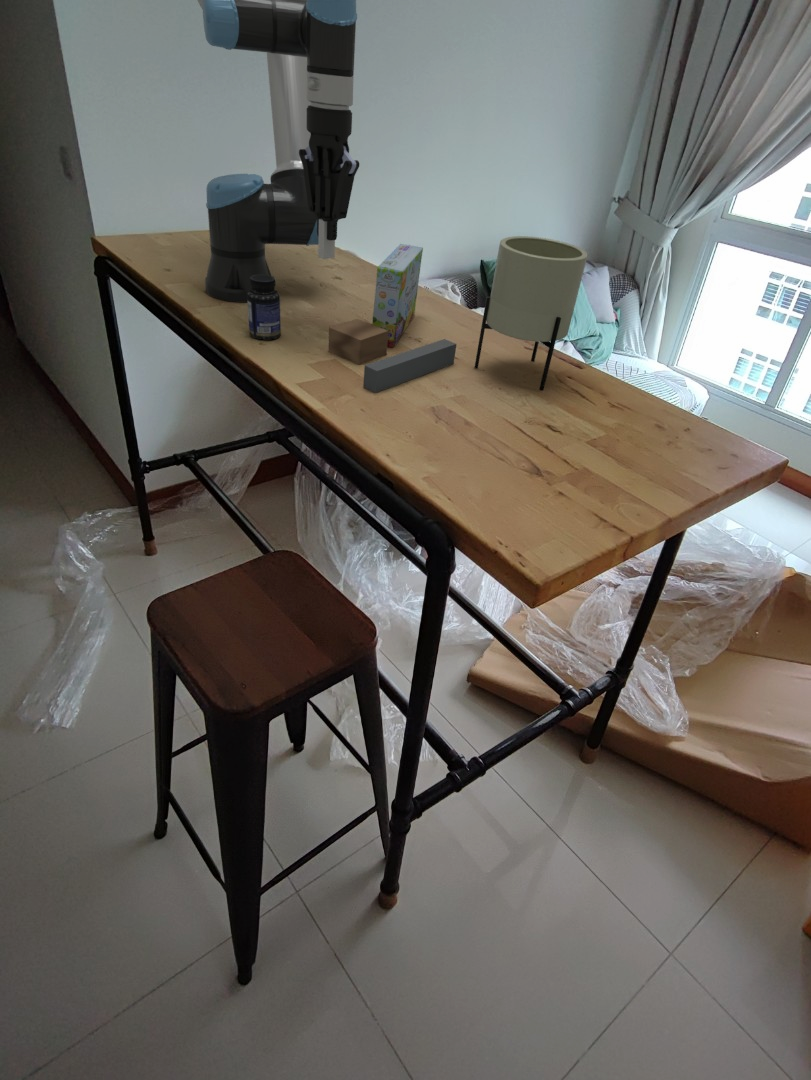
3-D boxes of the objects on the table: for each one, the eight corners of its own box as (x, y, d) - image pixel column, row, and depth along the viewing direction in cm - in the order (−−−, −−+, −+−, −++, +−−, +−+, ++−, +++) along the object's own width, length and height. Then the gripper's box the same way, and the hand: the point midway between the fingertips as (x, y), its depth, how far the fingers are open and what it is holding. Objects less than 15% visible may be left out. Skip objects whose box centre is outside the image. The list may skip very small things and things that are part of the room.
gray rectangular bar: (363, 386, 113) (364, 365, 111) (441, 358, 127) (444, 338, 125) (375, 392, 112) (377, 371, 109) (453, 363, 126) (456, 343, 123)
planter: (508, 395, 117) (537, 262, 103) (463, 361, 127) (483, 236, 113) (573, 386, 123) (609, 259, 109) (525, 354, 134) (551, 235, 120)
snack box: (396, 349, 129) (403, 270, 120) (369, 344, 130) (374, 266, 120) (416, 316, 146) (424, 245, 137) (392, 312, 146) (398, 241, 137)
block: (328, 352, 124) (328, 327, 121) (356, 343, 130) (357, 318, 127) (359, 366, 121) (360, 340, 118) (386, 356, 126) (388, 330, 123)
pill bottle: (286, 334, 129) (285, 277, 122) (269, 343, 125) (267, 285, 118) (261, 327, 131) (258, 271, 124) (242, 336, 126) (239, 277, 120)
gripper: (286, 100, 107) (288, 251, 121) (340, 111, 100) (335, 269, 115) (319, 101, 112) (317, 246, 126) (373, 112, 105) (365, 263, 119)
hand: (326, 257), depth 120 cm, fingers closed
